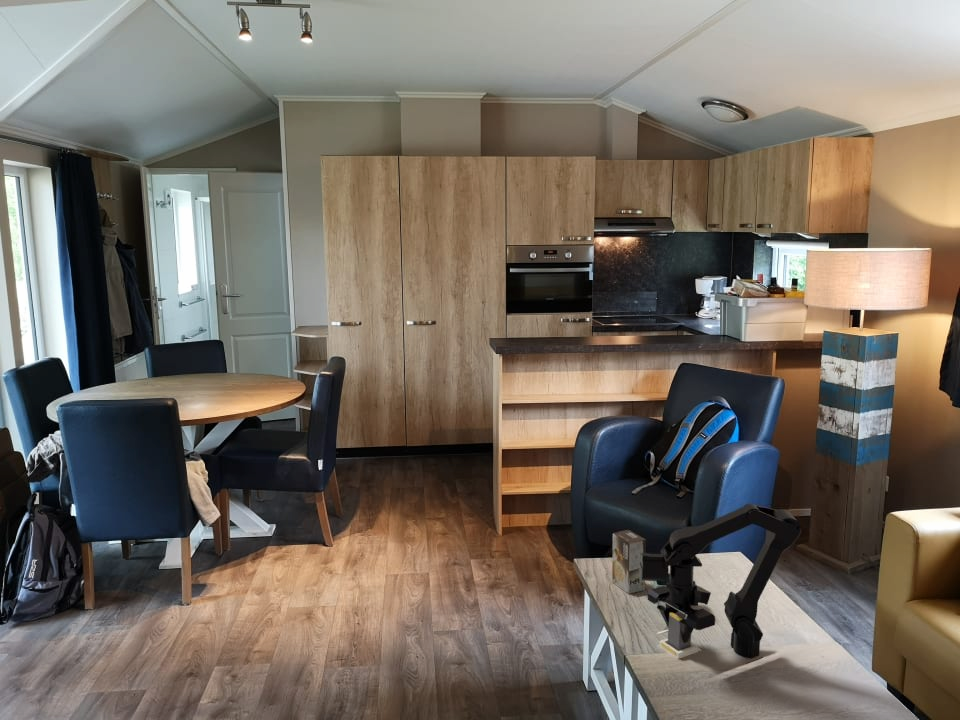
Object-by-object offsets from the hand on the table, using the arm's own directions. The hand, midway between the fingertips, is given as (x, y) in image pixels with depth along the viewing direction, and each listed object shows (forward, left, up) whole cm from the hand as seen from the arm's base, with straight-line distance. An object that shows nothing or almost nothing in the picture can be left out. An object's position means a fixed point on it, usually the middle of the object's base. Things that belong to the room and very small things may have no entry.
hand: (679, 638), depth 195 cm
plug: (0, 0, -2) cm, 2 cm away
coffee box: (+36, -13, -4) cm, 39 cm away
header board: (+3, -1, -4) cm, 5 cm away
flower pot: (+19, -14, -4) cm, 24 cm away
